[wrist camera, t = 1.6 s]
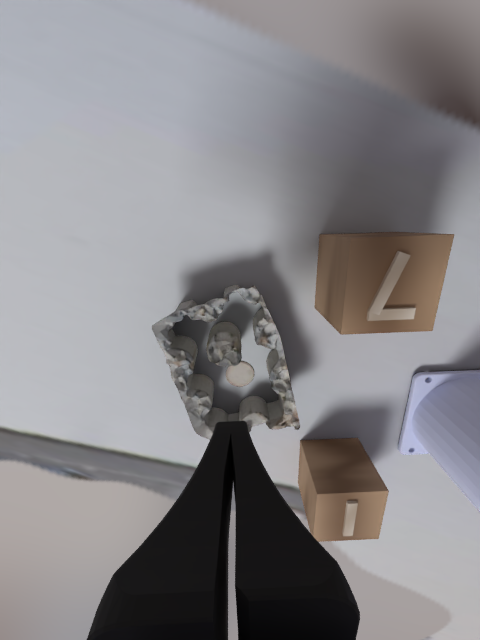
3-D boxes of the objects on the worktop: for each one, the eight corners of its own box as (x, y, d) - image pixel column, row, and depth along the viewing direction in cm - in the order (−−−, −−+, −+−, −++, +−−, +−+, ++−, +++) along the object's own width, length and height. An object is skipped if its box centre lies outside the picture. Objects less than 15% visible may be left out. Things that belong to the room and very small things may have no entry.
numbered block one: (357, 437, 23) (390, 493, 18) (351, 479, 25) (379, 541, 20) (300, 439, 23) (317, 496, 18) (297, 481, 25) (313, 544, 20)
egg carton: (293, 398, 22) (306, 435, 18) (206, 419, 23) (200, 460, 19) (262, 273, 18) (270, 287, 15) (159, 302, 19) (141, 322, 15)
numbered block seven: (394, 231, 18) (457, 234, 13) (383, 304, 19) (434, 332, 14) (319, 234, 17) (352, 238, 13) (314, 307, 19) (342, 335, 14)
